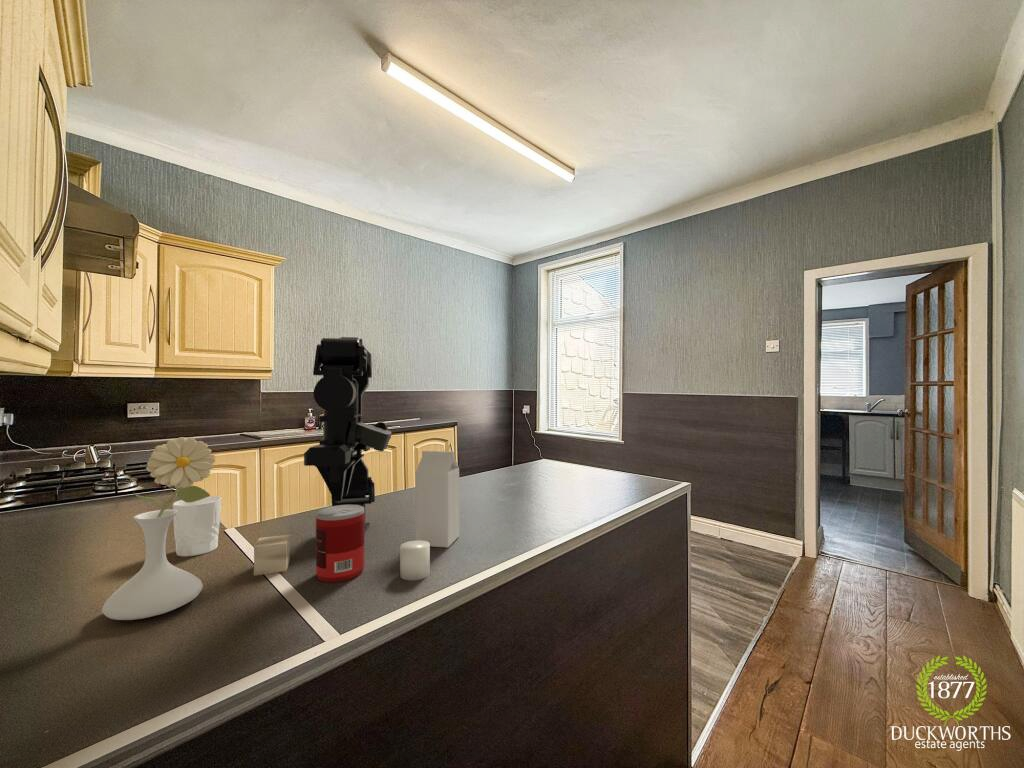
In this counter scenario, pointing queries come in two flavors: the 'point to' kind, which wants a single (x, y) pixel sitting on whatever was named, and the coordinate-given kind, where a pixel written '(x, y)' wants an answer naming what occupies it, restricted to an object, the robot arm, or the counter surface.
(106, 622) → the counter surface
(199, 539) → the white cup
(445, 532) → the milk carton
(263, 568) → the birch block
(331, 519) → the canned food
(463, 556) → the counter surface
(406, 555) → the off-white smooth rounded part
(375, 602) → the counter surface
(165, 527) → the flower in vase
